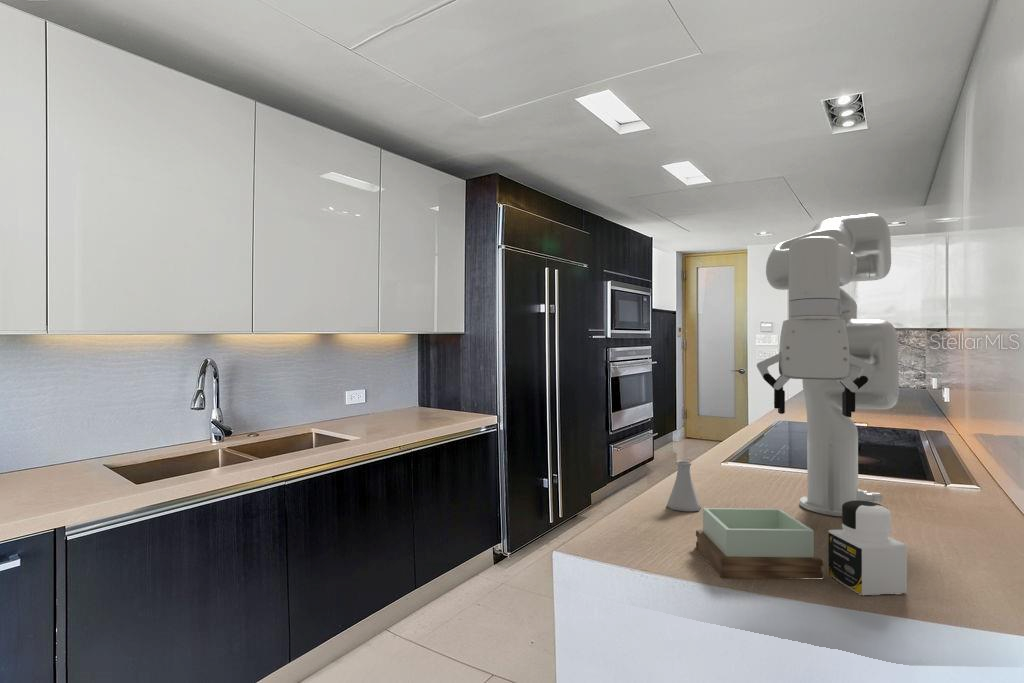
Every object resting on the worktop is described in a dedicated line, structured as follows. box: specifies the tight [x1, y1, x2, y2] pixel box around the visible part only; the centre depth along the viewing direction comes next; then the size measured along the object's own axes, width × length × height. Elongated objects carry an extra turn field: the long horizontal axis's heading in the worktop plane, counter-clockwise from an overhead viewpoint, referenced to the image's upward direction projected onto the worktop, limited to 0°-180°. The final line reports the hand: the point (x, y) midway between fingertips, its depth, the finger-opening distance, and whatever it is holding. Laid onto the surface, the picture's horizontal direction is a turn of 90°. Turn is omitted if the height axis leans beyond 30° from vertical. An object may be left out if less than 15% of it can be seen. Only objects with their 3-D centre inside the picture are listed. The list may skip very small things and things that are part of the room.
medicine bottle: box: [827, 500, 908, 597], centre depth 81 cm, size 7×7×12 cm
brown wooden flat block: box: [695, 529, 824, 580], centre depth 89 cm, size 15×13×3 cm
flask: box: [666, 460, 702, 512], centre depth 119 cm, size 7×7×10 cm
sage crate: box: [702, 507, 815, 558], centre depth 89 cm, size 13×11×4 cm
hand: (813, 414), depth 90 cm, fingers open, 9 cm apart
